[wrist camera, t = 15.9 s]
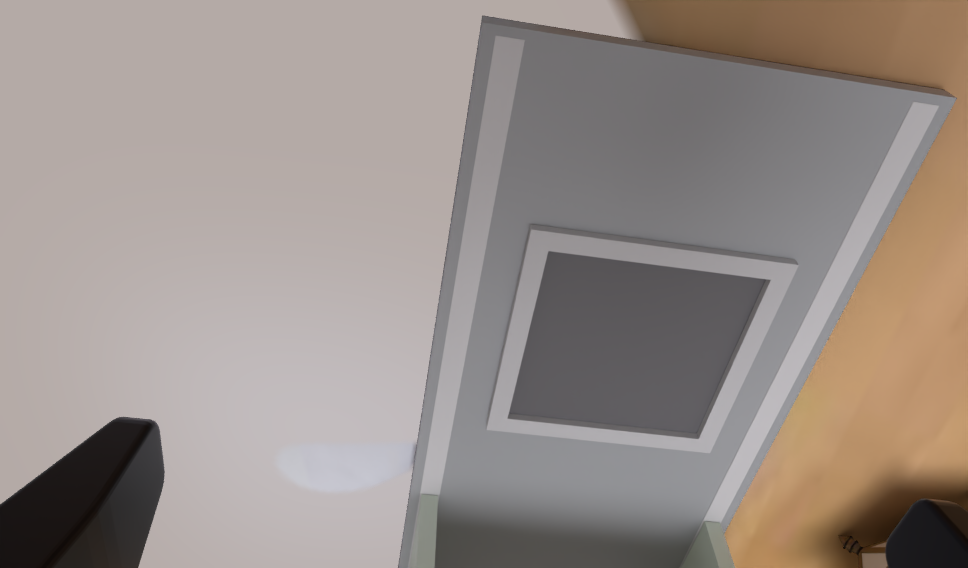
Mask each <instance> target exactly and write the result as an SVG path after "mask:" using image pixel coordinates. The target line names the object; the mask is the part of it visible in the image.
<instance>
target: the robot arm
mask: <svg viewBox="0 0 968 568" xmlns="http://www.w3.org/2000/svg"><path fill="white" fill-rule="evenodd" d="M163 483H164V463H163V455H162V446H161V438H160V430H159V427H158V425H157V423H156V422H155V421H152V420H150V419H140V418H129V417H119V418H116V419H114V420H112V421H111V422H109V423H108V424H107V425H105V426H104V427H103V428H101V429H100V430H99V431H97V432H96V433H95V434H93V435H92V436H91V437H89V438H88V439H87V440H85V441H84V442H83V443H81V444H80V445H79V446H77V447H76V448H75V449H73V450H72V451H71V452H69V453H68V454H67V455H66V456H64V457H63V458H62V459H60V460H59V461H57V462H56V463H55V464H53V465H52V466H51V467H50V468H48V469H47V470H46V471H44V472H43V473H41V474H40V475H39V476H38V477H36V478H35V479H34V480H32V481H31V482H30V483H28V484H27V485H26V486H24V487H23V488H22V489H20V490H19V491H18V492H16V493H15V494H14V495H12V496H11V497H10V498H8V499H7V500H6V501H4V502H3V503H2V504H0V568H138V566H139V563H140V560H141V556H142V553H143V550H144V547H145V543H146V540H147V537H148V534H149V530H150V527H151V524H152V521H153V518H154V514H155V511H156V508H157V505H158V501H159V498H160V495H161V492H162V487H163ZM885 556H886V561H887V565H888V568H968V511H967V510H965V509H964V508H963V507H961V506H960V505H958V504H956V503H954V502H951V501H945V500H935V499H920V500H918V501H916V502H915V503H914V504H913V505H912V506H911V507H910V509H909V510H908V511H907V513H906V514H905V515H904V517H903V518H902V519H901V521H900V522H899V524H898V525H897V526H896V528H895V529H894V530H893V532H892V533H891V534H890V536H889V538H888V539H887V542H886V548H885Z"/></svg>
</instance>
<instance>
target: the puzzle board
mask: <svg viewBox="0 0 968 568" xmlns="http://www.w3.org/2000/svg"><path fill="white" fill-rule="evenodd" d="M956 99H957V98H956V97H955V96H953V95H951V94H950V93H948V92H947V91H945V90H943V89H936V88H930V87H924V86H918V85H911V84H905V83H899V82H893V81H886V80H880V79H874V78H868V77H862V76H855V75H849V74H843V73H837V72H830V71H824V70H818V69H812V68H805V67H799V66H793V65H787V64H781V63H774V62H768V61H762V60H756V59H749V58H743V57H737V56H731V55H724V54H718V53H712V52H706V51H700V50H693V49H687V48H681V47H675V46H668V45H662V44H656V43H650V42H643V41H637V40H631V39H625V38H618V37H611V36H606V35H599V34H594V33H587V32H581V31H575V30H569V29H562V28H556V27H550V26H544V25H537V24H531V23H525V22H519V21H513V20H506V19H499V18H494V17H488V16H482V22H481V28H480V35H479V41H478V48H477V55H476V61H475V68H474V74H473V80H472V87H471V94H470V101H469V107H468V113H467V120H466V126H465V133H464V139H463V147H462V152H461V160H460V167H459V172H458V179H457V185H456V192H455V198H454V205H453V212H452V218H451V225H450V231H449V238H448V244H447V251H446V257H445V264H444V270H443V277H442V283H441V290H440V297H439V303H438V310H437V317H436V323H435V330H434V336H433V342H432V349H431V355H430V362H429V369H428V375H427V382H426V388H425V395H424V402H423V408H422V414H421V421H420V428H419V434H418V441H417V447H416V454H415V460H414V467H413V473H412V480H411V486H410V493H409V499H408V506H407V513H406V519H405V526H404V532H403V539H402V546H401V552H400V558H399V565H398V568H409V566H410V560H411V554H412V548H413V542H414V536H415V530H416V524H417V518H418V512H419V506H420V500H421V494H424V495H435V496H438V509H437V529H436V549H435V568H681V567H682V565H683V563H684V561H685V559H686V557H687V555H688V554H689V552H690V550H691V548H692V546H693V544H694V542H695V540H696V538H697V536H698V534H699V532H700V530H701V528H702V526H703V524H704V522H705V521H707V522H718V523H720V524H721V527H722V530H723V533H725V531H726V529H727V527H728V525H729V524H730V522H731V520H732V518H733V516H734V514H735V512H736V510H737V509H738V507H739V505H740V503H741V501H742V499H743V497H744V495H745V494H746V492H747V490H748V488H749V486H750V484H751V482H752V480H753V479H754V477H755V475H756V473H757V471H758V469H759V467H760V466H761V464H762V462H763V460H764V458H765V456H766V454H767V452H768V451H769V449H770V447H771V445H772V443H773V441H774V439H775V437H776V436H777V434H778V432H779V430H780V428H781V426H782V424H783V422H784V421H785V419H786V417H787V415H788V413H789V411H790V409H791V408H792V406H793V404H794V402H795V400H796V398H797V396H798V394H799V393H800V391H801V389H802V387H803V385H804V383H805V381H806V379H807V378H808V376H809V374H810V372H811V370H812V368H813V366H814V364H815V363H816V361H817V359H818V357H819V355H820V353H821V351H822V350H823V348H824V346H825V344H826V342H827V340H828V338H829V336H830V335H831V333H832V331H833V329H834V327H835V325H836V323H837V321H838V320H839V318H840V316H841V314H842V312H843V310H844V308H845V306H846V305H847V303H848V301H849V299H850V297H851V295H852V293H853V292H854V290H855V288H856V286H857V284H858V282H859V280H860V278H861V277H862V275H863V273H864V271H865V269H866V267H867V265H868V263H869V262H870V260H871V258H872V256H873V254H874V252H875V250H876V248H877V247H878V245H879V243H880V241H881V239H882V237H883V235H884V234H885V232H886V230H887V228H888V226H889V224H890V222H891V220H892V219H893V217H894V215H895V213H896V211H897V209H898V207H899V205H900V204H901V202H902V200H903V198H904V196H905V194H906V192H907V190H908V189H909V187H910V185H911V183H912V181H913V179H914V177H915V176H916V174H917V172H918V170H919V168H920V166H921V164H922V162H923V161H924V159H925V157H926V155H927V153H928V151H929V149H930V147H931V146H932V144H933V142H934V140H935V138H936V136H937V134H938V132H939V131H940V129H941V127H942V125H943V123H944V121H945V119H946V118H947V116H948V114H949V112H950V110H951V108H952V106H953V104H954V103H955V101H956Z"/></svg>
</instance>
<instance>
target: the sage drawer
mask: <svg viewBox="0 0 968 568" xmlns="http://www.w3.org/2000/svg"><path fill="white" fill-rule="evenodd" d="M437 509H438V496H435V495H424V494H421V500H420V506H419V512H418V518H417V524H416V530H415V536H414V542H413V548H412V554H411V560H410V566H409V568H435V549H436V529H437ZM681 568H735V566H734V563H733V560H732V557H731V554H730V551H729V548H728V545H727V542H726V539H725V536H724V533H723V530H722V527H721V524H720V523H718V522H707V521H705V522H704V524H703V526H702V528H701V530H700V532H699V534H698V536H697V538H696V540H695V542H694V544H693V546H692V548H691V550H690V552H689V554H688V555H687V557H686V559H685V561H684V563H683V565H682V567H681Z"/></svg>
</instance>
